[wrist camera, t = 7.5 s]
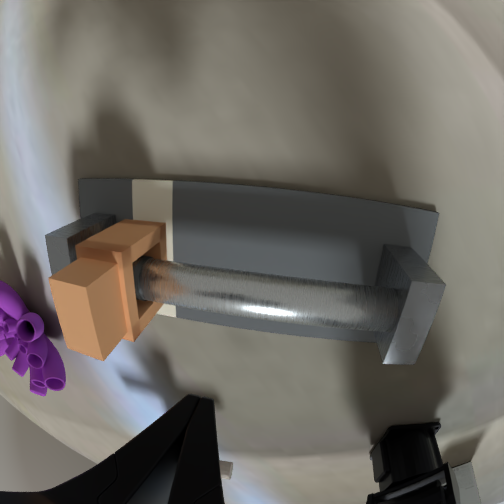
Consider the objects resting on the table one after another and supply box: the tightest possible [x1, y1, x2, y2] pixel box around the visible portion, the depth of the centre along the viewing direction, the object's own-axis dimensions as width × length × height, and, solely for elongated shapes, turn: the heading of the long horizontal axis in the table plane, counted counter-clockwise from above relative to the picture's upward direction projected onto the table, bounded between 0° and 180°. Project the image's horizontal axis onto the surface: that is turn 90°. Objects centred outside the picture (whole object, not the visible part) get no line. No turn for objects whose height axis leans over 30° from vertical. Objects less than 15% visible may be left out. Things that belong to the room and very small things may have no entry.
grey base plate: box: [78, 179, 439, 343], centre depth 19 cm, size 25×10×1 cm, turn 86°
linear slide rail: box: [45, 213, 446, 364], centre depth 17 cm, size 22×5×5 cm, turn 86°
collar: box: [48, 219, 167, 361], centre depth 15 cm, size 3×5×8 cm, turn 176°
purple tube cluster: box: [0, 281, 66, 396], centre depth 23 cm, size 11×15×10 cm
